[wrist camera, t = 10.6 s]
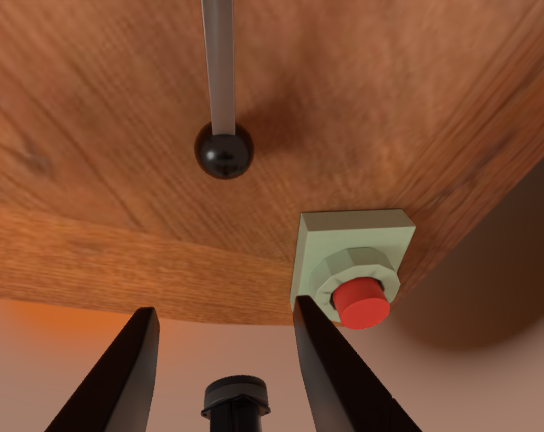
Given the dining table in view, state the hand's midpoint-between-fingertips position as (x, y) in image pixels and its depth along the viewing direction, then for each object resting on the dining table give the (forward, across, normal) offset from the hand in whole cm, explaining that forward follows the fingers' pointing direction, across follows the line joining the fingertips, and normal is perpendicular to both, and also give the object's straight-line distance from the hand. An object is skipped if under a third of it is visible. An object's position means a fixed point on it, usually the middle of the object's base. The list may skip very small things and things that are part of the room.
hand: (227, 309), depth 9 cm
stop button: (+8, -9, +10) cm, 16 cm away
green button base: (+12, -9, +10) cm, 18 cm away
